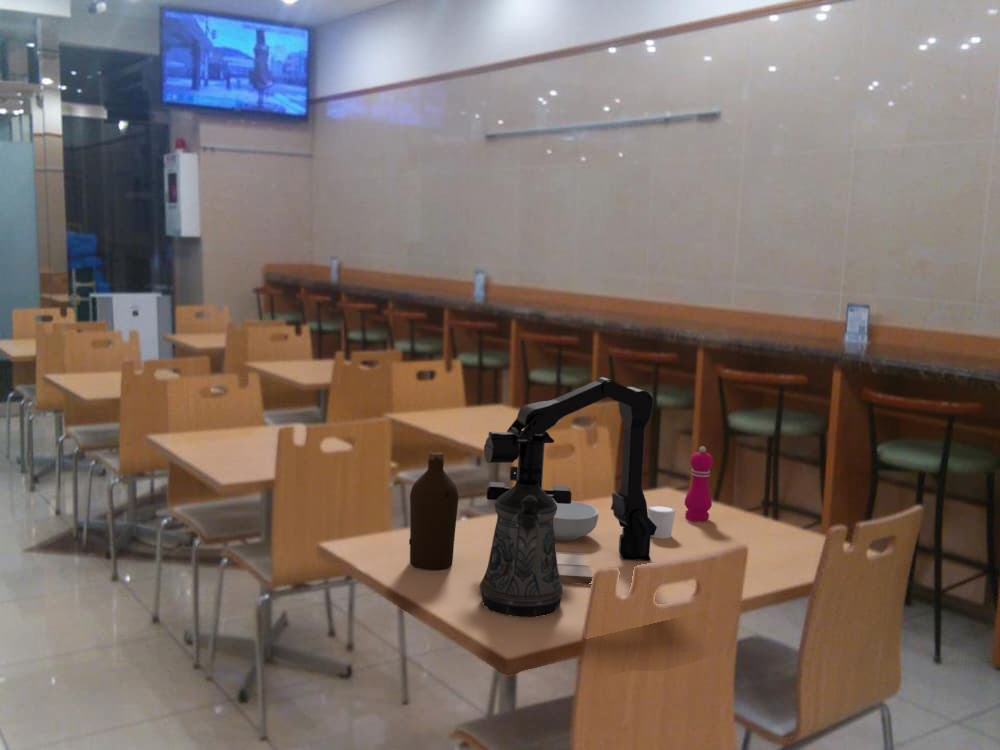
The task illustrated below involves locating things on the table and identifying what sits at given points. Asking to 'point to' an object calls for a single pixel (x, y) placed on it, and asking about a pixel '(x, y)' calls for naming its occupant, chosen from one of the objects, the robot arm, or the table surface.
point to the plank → (571, 559)
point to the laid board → (575, 574)
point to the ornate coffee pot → (523, 554)
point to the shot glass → (662, 520)
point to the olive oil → (433, 517)
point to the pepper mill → (699, 487)
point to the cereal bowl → (574, 520)
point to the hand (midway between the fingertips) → (526, 530)
